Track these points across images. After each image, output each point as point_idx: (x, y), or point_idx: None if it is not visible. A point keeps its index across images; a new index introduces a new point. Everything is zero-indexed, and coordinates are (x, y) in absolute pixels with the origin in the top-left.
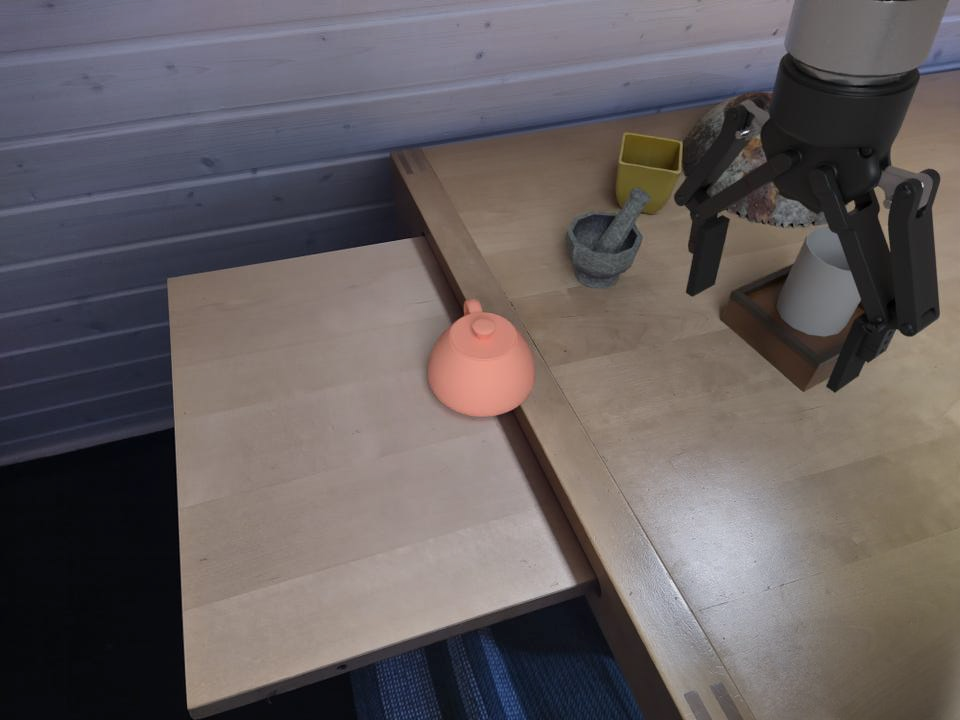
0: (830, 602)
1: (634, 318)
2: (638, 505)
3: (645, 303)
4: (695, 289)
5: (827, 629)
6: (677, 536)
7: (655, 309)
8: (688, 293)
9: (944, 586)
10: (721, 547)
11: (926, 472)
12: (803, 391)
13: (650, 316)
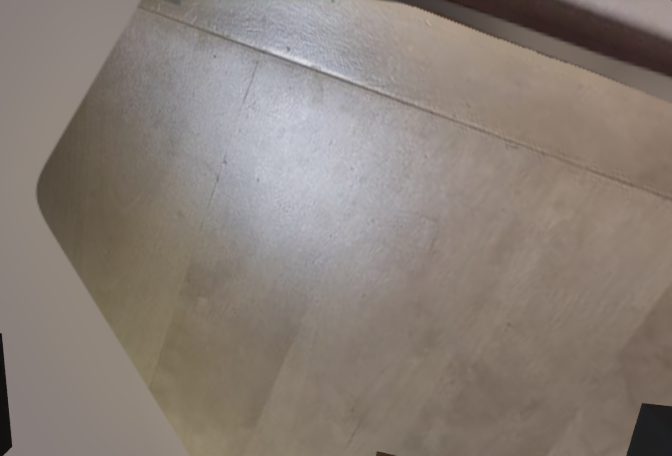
0: (170, 204)
1: None
2: (418, 122)
3: None
4: (661, 436)
5: (151, 171)
6: (347, 127)
7: None
8: (667, 409)
9: (112, 319)
10: (297, 162)
11: (207, 440)
12: (377, 452)
13: None
